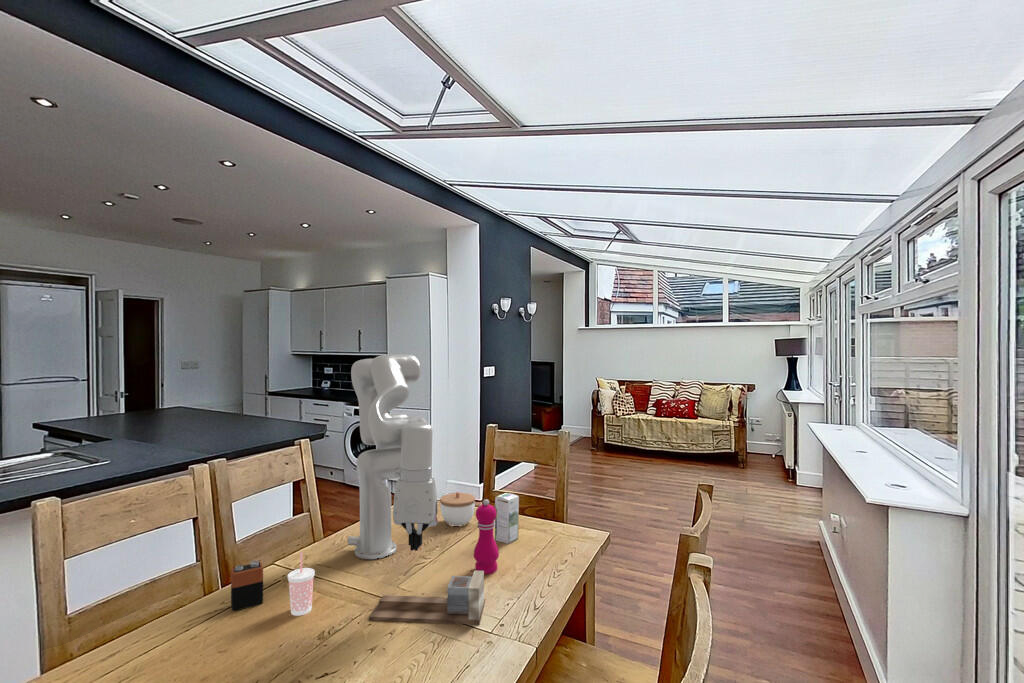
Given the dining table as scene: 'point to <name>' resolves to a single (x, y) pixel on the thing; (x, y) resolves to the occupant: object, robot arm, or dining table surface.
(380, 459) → the robot arm
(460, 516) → the lidded bowl
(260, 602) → the battery
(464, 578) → the block
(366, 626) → the dining table surface
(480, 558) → the pepper mill
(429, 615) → the rail
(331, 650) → the dining table surface
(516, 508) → the syrup box
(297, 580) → the beverage cup
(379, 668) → the dining table surface
